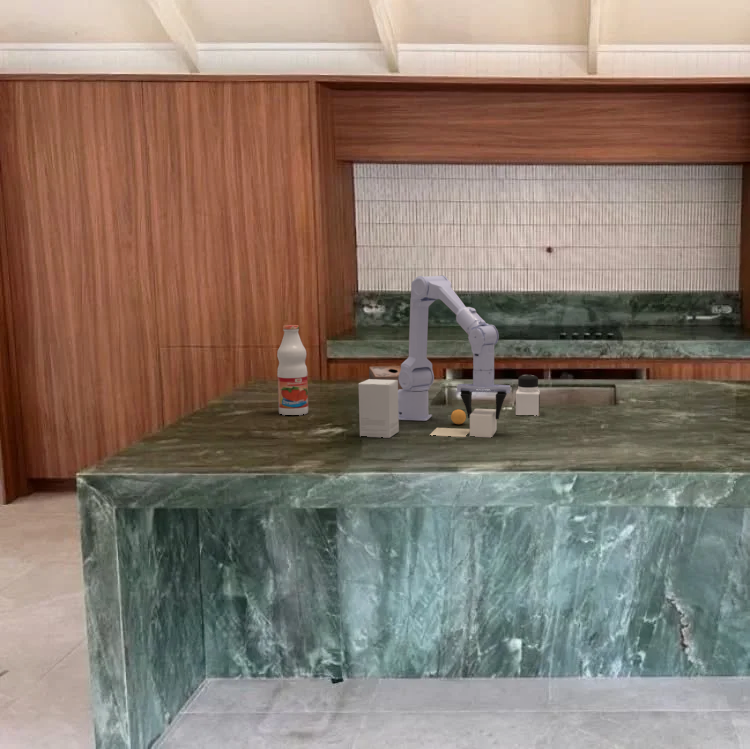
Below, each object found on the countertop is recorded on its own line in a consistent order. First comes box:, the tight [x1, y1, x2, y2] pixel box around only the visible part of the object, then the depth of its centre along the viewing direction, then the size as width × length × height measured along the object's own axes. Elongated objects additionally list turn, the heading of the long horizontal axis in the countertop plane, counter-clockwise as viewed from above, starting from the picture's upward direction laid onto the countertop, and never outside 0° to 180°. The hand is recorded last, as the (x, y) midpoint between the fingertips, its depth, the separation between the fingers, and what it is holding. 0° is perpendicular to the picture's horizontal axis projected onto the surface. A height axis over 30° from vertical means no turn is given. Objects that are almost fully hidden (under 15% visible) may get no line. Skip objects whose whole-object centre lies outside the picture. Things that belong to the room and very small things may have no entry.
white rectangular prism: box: [469, 408, 498, 438], centre depth 236 cm, size 10×6×6 cm, turn 164°
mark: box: [429, 427, 470, 438], centre depth 238 cm, size 10×10×1 cm
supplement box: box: [357, 378, 400, 439], centre depth 236 cm, size 9×9×15 cm
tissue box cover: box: [368, 365, 403, 390], centre depth 294 cm, size 26×14×10 cm, turn 5°
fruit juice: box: [276, 324, 309, 416], centre depth 268 cm, size 9×9×28 cm
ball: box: [450, 408, 467, 425], centre depth 249 cm, size 4×4×4 cm
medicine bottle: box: [515, 374, 541, 417], centre depth 262 cm, size 7×7×12 cm
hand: (483, 418), depth 235 cm, fingers open, 7 cm apart
